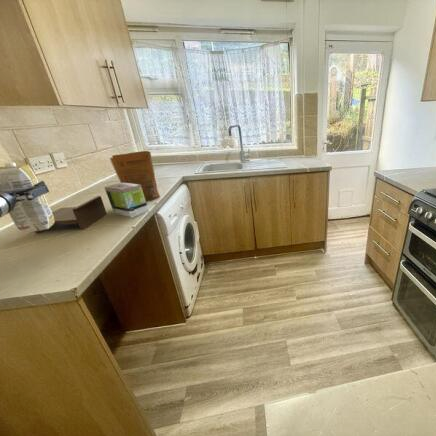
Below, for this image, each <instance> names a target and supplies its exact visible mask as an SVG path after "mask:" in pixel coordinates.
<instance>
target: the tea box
mask: <svg viewBox="0 0 436 436" xmlns="http://www.w3.org/2000/svg"><path fill="white" fill-rule="evenodd" d="M104 190H105V193H106V195H107V199H108V201H109V205H110V207H111V209H112V211H113V214H116V215H119V216H123V217H127V218H130V219H132V218H135V217H138V216H140V215H142V214H144V213H147V212H149V207H148V204H147V201H146V200H145V197H144V194H143V191H142V187H141V185H140V184H133V183H125V182H123V183H121V182H119V183H115V184H111V185H107V186H104Z"/></svg>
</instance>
